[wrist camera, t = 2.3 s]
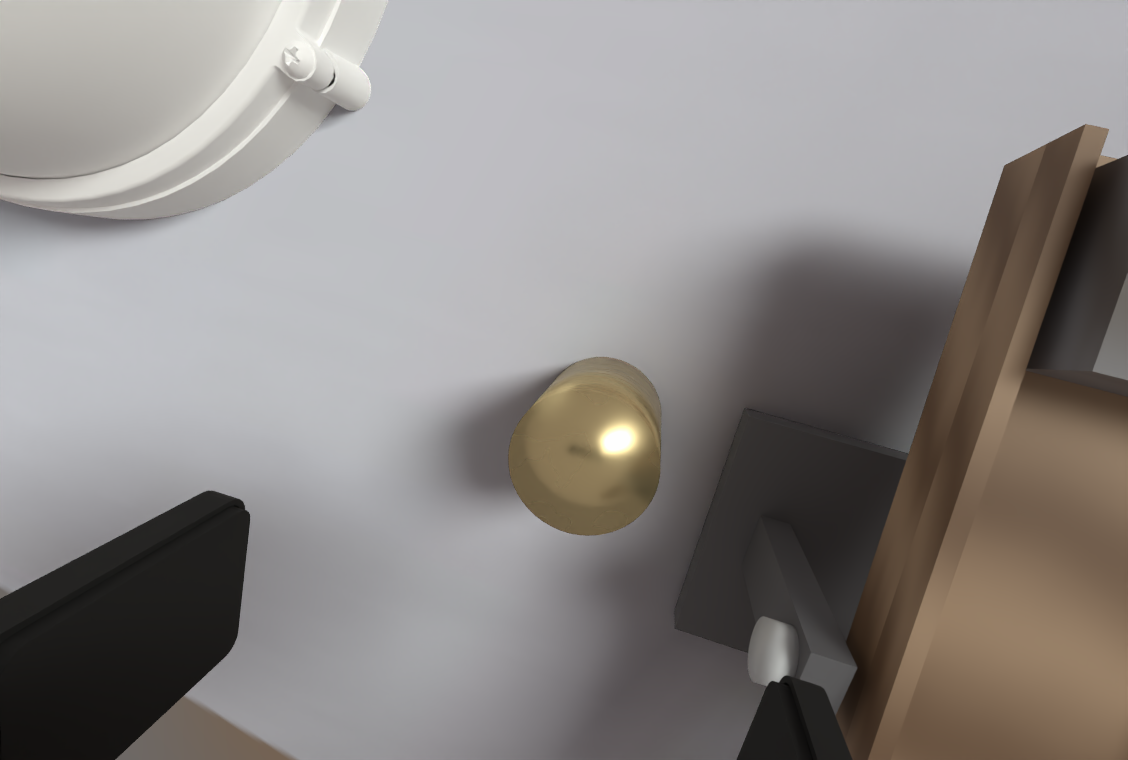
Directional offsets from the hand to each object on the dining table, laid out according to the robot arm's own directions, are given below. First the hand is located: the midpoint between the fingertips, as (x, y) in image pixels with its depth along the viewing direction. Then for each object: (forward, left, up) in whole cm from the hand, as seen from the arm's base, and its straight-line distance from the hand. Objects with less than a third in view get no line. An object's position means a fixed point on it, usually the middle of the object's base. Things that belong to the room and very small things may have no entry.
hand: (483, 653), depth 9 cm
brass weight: (0, 0, -15) cm, 15 cm away
